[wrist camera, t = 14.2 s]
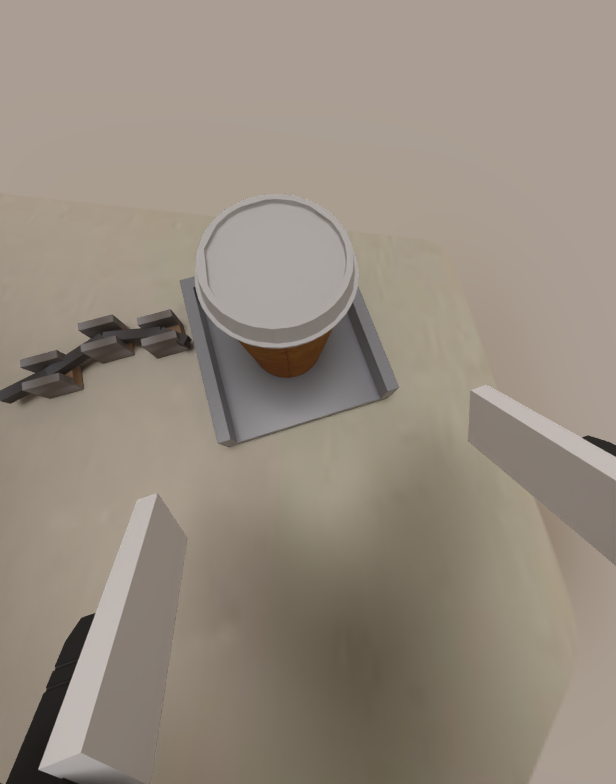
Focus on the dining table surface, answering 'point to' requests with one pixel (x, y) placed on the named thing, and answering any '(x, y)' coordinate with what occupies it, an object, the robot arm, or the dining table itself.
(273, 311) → the disposable coffee cup
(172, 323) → the clip strip
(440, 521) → the dining table surface
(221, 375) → the end holder
